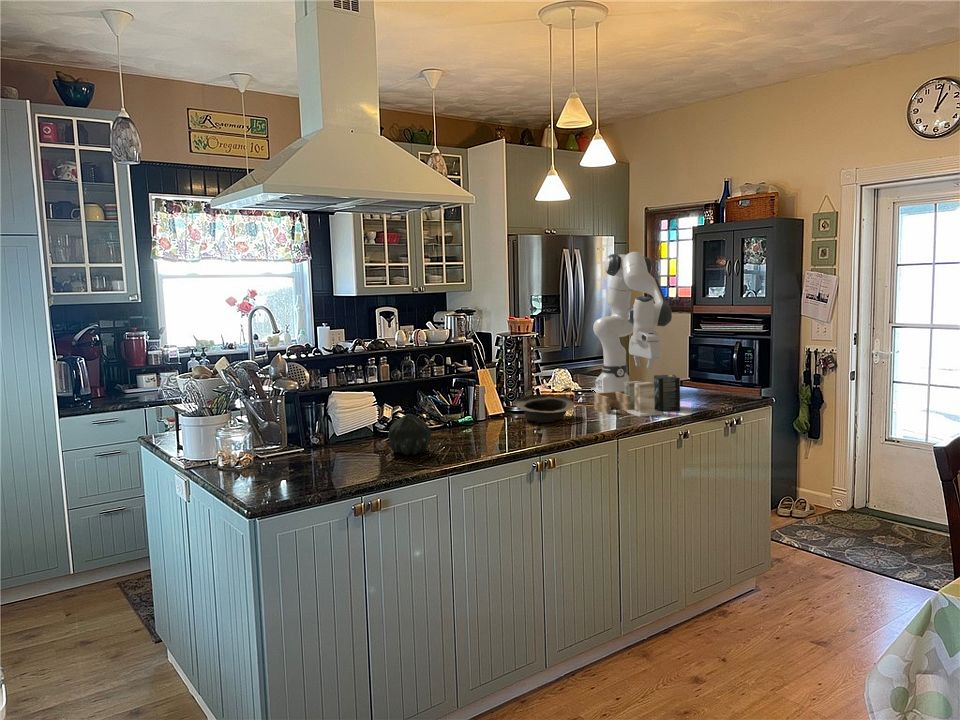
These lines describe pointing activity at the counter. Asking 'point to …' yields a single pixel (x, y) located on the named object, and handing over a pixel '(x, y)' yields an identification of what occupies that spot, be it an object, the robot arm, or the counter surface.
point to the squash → (409, 435)
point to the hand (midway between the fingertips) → (643, 367)
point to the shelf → (616, 399)
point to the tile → (644, 413)
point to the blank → (644, 397)
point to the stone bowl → (544, 407)
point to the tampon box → (667, 392)
